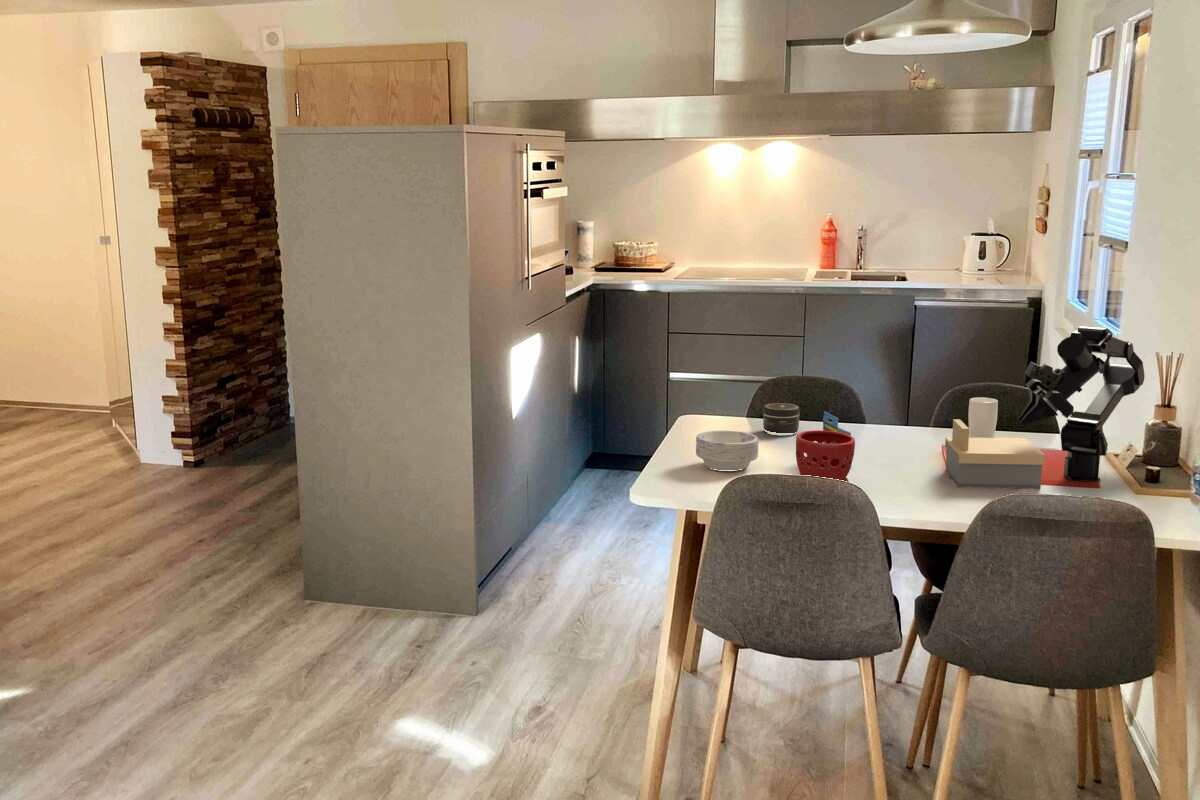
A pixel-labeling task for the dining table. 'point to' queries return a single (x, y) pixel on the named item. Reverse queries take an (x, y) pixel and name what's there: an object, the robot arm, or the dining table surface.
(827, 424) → the label tape box
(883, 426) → the dining table surface
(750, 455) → the paper bowls
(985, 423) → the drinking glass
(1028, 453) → the lid
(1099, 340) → the robot arm
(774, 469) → the dining table surface
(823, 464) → the plant pot
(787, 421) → the jar
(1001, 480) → the box
